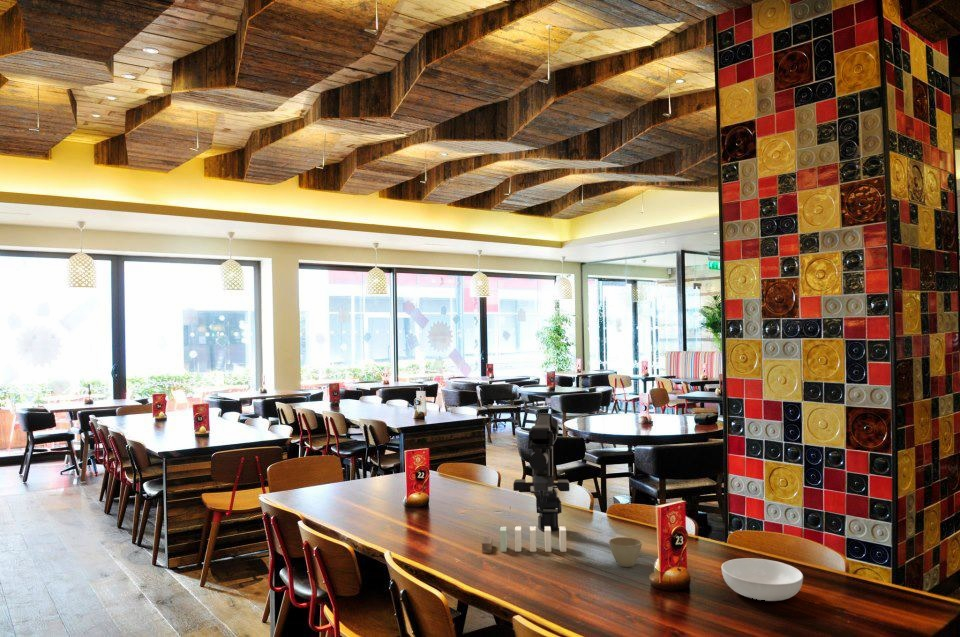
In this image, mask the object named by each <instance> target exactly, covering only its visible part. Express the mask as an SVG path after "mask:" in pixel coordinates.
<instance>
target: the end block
mask: <svg viewBox="0 0 960 637" xmlns="http://www.w3.org/2000/svg"><path fill="white" fill-rule="evenodd" d="M481 542H482V543H481V552H482V553H492V550H493V536H482V541H481Z"/></svg>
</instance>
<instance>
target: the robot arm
mask: <svg viewBox="0 0 960 637" xmlns="http://www.w3.org/2000/svg"><path fill="white" fill-rule="evenodd" d="M559 432H560V431H559V421H558V420H557V419H556V418H554V416H553V414H552V413H549V412H548V413H544V412H542V413H538V414H537V418H536V419H535V422H534V425H532V427H531V428H530V430H529V431H528V440H527V441H528V442H527V445H528V446H527V449H528V450H532V453H531V454H530V457H529V460H528V462H529V463H528V464H529V466H530V468H531V469H532V477H531V480H532V481H530V482H529V481H526V479H523V478H522V479H519V478H517V479H516V478H515V480H514V481H513V484H512V486H513V488H512V490H513V491H514V492H523V491H525V489H530V494H533V496H535V502H536V503H535V504H536V513H537V514H539V515H538V517H537V522H538V523H537V524H538V525H537V527H538V529H540V530H541V531H543V532H545V526H550V527H551V532H553V531H559V515H560V514H561V513H562V512H563V511H562V509H563V508H562V501H561V499H560V497H559V496H558V495H559V494H558V491H559V492H570V481H569V480H568V479H557V481H555V476H554V444H555V442H556V441H557V439H558V435H559ZM557 490H558V491H557Z"/></svg>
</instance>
